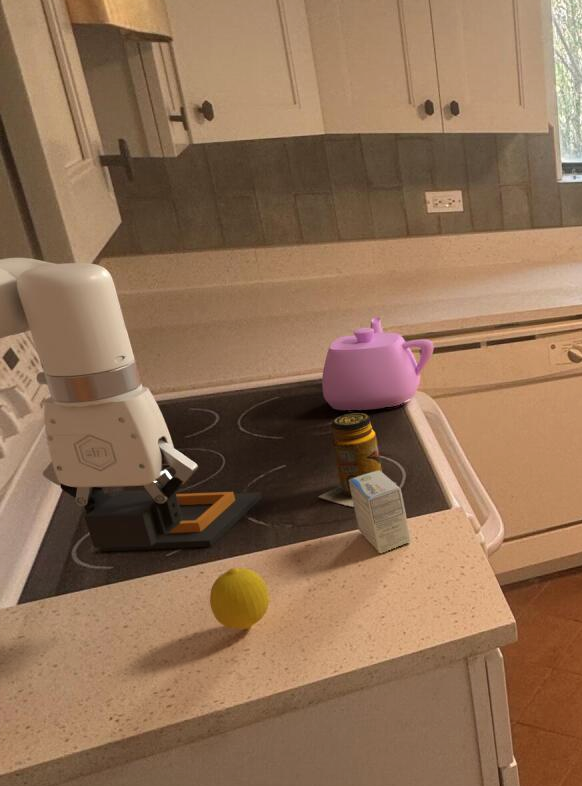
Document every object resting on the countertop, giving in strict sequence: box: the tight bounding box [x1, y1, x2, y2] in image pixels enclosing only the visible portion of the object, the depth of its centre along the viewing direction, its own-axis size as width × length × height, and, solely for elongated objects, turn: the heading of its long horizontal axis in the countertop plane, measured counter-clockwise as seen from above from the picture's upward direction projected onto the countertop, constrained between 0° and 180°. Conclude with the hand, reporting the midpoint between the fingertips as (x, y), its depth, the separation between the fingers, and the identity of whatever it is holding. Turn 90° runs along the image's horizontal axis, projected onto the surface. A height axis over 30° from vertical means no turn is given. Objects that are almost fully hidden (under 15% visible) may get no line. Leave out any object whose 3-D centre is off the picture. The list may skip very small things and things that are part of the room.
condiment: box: [317, 412, 397, 508], centre depth 120 cm, size 7×8×12 cm
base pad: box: [100, 491, 262, 552], centre depth 112 cm, size 14×14×2 cm
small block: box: [83, 489, 183, 549], centre depth 89 cm, size 6×6×4 cm
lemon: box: [209, 567, 270, 630], centre depth 89 cm, size 6×6×8 cm
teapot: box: [321, 316, 435, 411], centre depth 159 cm, size 23×21×15 cm
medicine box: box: [349, 471, 412, 554], centre depth 107 cm, size 8×4×9 cm, turn 43°
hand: (138, 528), depth 89 cm, fingers closed on small block, 6 cm apart
